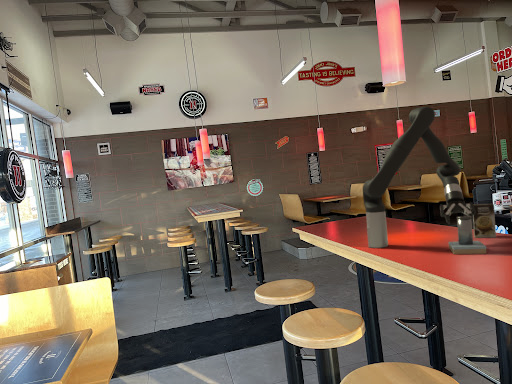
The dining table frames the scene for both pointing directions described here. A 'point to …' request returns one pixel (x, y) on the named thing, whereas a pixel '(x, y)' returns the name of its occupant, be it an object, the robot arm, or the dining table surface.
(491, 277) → the dining table surface
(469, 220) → the canister
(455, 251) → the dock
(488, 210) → the coffee box
